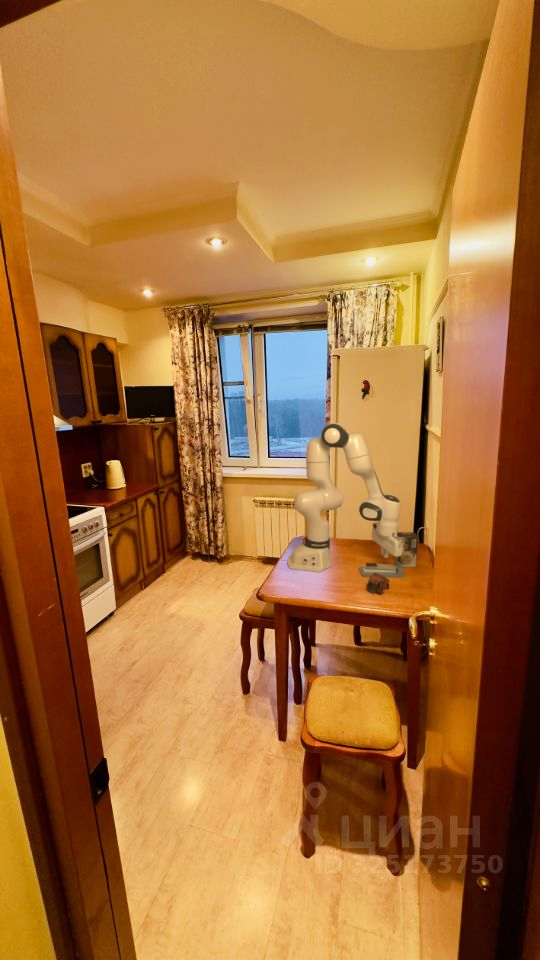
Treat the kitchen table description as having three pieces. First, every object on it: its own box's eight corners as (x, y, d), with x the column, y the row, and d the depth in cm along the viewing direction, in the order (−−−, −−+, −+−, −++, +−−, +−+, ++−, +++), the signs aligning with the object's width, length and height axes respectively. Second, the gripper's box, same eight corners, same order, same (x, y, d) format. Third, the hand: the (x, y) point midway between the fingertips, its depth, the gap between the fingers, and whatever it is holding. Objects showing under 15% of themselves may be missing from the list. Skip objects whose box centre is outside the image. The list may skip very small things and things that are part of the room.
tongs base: (361, 576, 171) (362, 568, 170) (358, 568, 179) (359, 560, 178) (405, 577, 170) (405, 569, 169) (400, 569, 177) (400, 561, 176)
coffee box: (412, 561, 186) (414, 532, 182) (416, 567, 179) (418, 537, 176) (394, 561, 186) (396, 531, 183) (397, 566, 180) (399, 536, 176)
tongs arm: (398, 566, 175) (399, 563, 174) (400, 570, 171) (401, 567, 171) (364, 565, 176) (364, 562, 175) (365, 568, 172) (365, 565, 172)
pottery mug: (361, 586, 164) (369, 569, 164) (380, 594, 164) (387, 578, 165) (370, 593, 152) (378, 575, 152) (390, 603, 152) (398, 585, 153)
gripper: (407, 538, 160) (404, 566, 163) (382, 520, 178) (379, 546, 182) (395, 539, 158) (391, 567, 162) (370, 522, 177) (368, 547, 181)
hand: (385, 556), depth 172 cm, fingers closed
